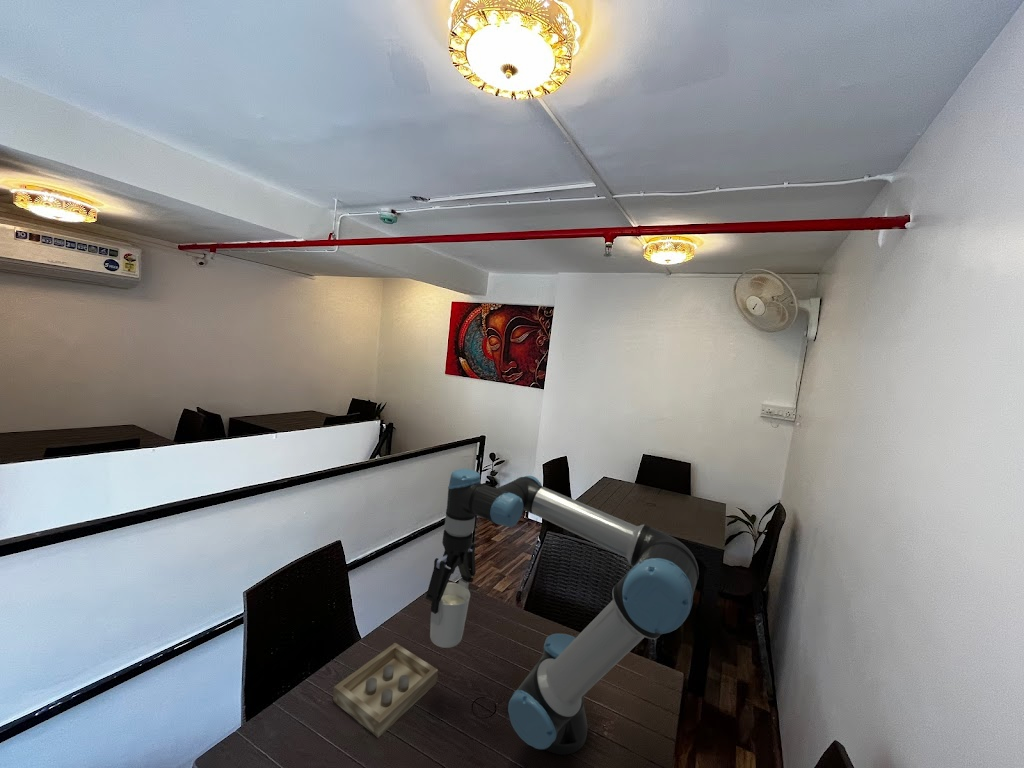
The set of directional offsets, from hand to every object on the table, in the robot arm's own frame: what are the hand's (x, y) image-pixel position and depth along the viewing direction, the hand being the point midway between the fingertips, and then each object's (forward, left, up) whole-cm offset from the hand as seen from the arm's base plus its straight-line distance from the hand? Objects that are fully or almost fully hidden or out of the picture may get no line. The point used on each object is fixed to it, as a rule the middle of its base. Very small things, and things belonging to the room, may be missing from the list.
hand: (448, 613), depth 109 cm
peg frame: (+14, +5, -26) cm, 30 cm away
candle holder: (0, 0, -7) cm, 7 cm away
